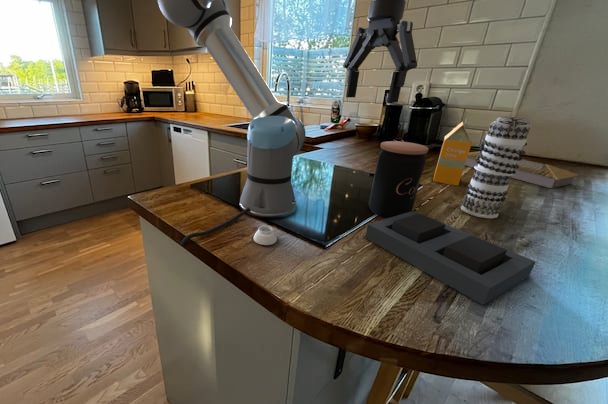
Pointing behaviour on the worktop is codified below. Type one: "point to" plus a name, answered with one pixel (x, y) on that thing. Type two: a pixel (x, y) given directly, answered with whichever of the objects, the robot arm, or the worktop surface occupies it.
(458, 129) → the orange juice
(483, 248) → the pad
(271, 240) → the white upturned bowl
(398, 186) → the coffee jar
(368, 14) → the robot arm
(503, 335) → the worktop surface
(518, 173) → the rafter model
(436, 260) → the base pad
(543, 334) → the worktop surface
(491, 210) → the decorative candle
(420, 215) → the pad
